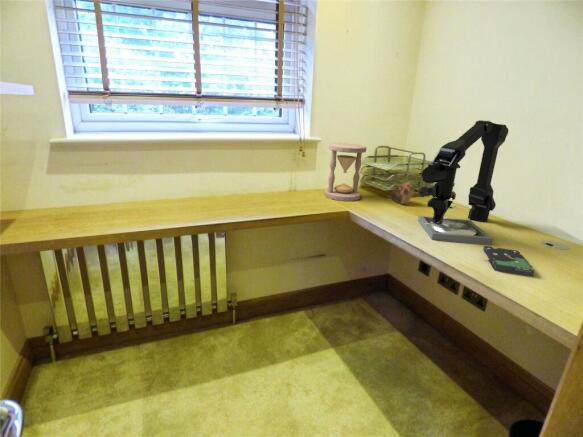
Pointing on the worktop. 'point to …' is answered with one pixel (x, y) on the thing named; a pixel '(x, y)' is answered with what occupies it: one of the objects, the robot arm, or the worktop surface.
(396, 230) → the worktop surface
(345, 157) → the hourglass
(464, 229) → the dial
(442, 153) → the robot arm
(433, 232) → the dial housing
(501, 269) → the disk drive
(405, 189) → the decorative rock
